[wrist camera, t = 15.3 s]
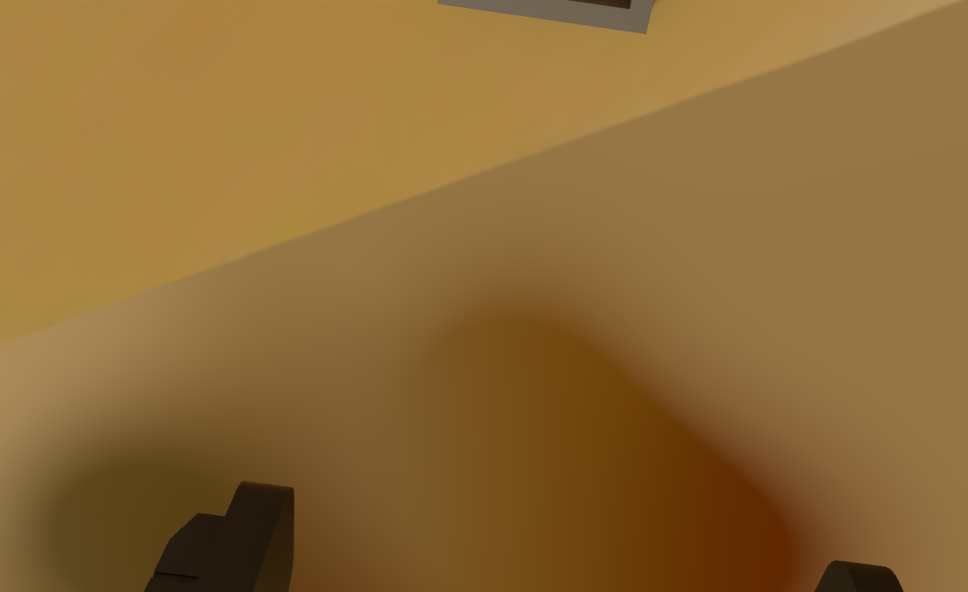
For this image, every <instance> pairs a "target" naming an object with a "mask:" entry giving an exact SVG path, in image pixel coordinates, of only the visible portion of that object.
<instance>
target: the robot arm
mask: <svg viewBox="0 0 968 592" xmlns="http://www.w3.org/2000/svg"><path fill="white" fill-rule="evenodd" d="M293 559H294V489H293V488H292V487H286V486H278V485H271V484H263V483H255V482H248V481H242V482H241V483H240V485H239V486H238V488H237V490H236V492H235V495H234V497H233V499H232V502H231V504H230V506H229V509H228V511H227V513H226V516H218V515H210V514H202V513H198V514H197V515H195V517H194V518H192V519H191V520H190V521H189V522H188V523H187V524H186V525H185V526H184V527H182V528H181V529H180V530H179V531H178V532H177V533H176V534H175V535H174V536H173V537H172V538H171V539H170V540H169V542H168V544H167V546H166V548H165V550H164V552H163V555H162V556H161V558H160V560H159V563H158V565H157V566H156V568H155V570H154V575H153V578H150V580H149V582H148V585H147V587H146V589H145V591H144V592H288V590H289V586H290V581H291V575H292V569H293ZM815 592H903V589H902V587H901V585H900V583H899V581H898V579H897V577H896V575H895V574H894V573H893V571H891V570H890V569H889V568H887V567H884V566H876V565H869V564H861V563H853V562H846V561H838V560H835V561H833V562H831V563H830V564H829V565H828V567H827V568H826V570H825V572H824V574H823V576H822V578H821V580H820V582H819V584H818V586H817V588H816V590H815Z"/></svg>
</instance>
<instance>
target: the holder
mask: <svg viewBox="0 0 968 592" xmlns="http://www.w3.org/2000/svg"><path fill="white" fill-rule="evenodd" d="M653 1H654V0H438V4H443V5H450V6H457V7H464V8H471V9H477V10H484V11H491V12H498V13H505V14H512V15H519V16H526V17H533V18H540V19H546V20H553V21H560V22H567V23H574V24H581V25H588V26H595V27H602V28H608V29H615V30H622V31H629V32H636V33H643V34H646V32H647V27H648V23H649V18H650V14H651V10H652V5H653Z"/></svg>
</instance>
